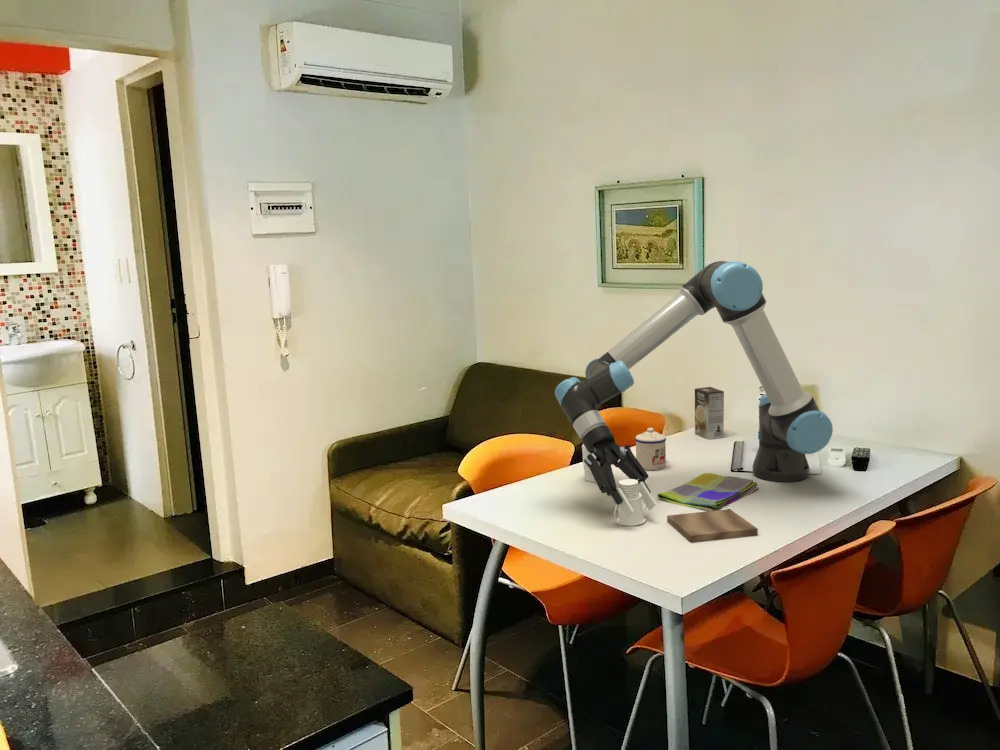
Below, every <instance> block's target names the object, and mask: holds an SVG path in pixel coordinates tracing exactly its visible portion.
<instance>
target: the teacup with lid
mask: <svg viewBox="0 0 1000 750" xmlns="http://www.w3.org/2000/svg"><path fill="white" fill-rule="evenodd" d="M634 440H635V458H636V459H637V460H638V462H639V463H640V464H641V466H642V467H643V468H644V470H645V471H659V470H663V469H664V468H666V465H667V464H666V462H667V461H666V460H667V458H666V455H667V454H666V452H667V451H666V448H667V447H666V446H667V445H666V441H667V437H666V435H664V434H662V433H659V432H657V431H655V430H654V428H653V427H648V428H647V429H646V431H644V432H642V433H639V434H637V435H636V436H635V438H634Z"/></svg>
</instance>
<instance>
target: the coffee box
mask: <svg viewBox="0 0 1000 750" xmlns="http://www.w3.org/2000/svg"><path fill="white" fill-rule="evenodd" d="M724 400H725V391H723V390H721V389H718V388H715V387H712V386H707V387H697V388H694V434H695V435H697V436H699V437H701V438H704V439H706V440H714V439H715V440H716V439H722V438H724V430H725V429H724V428H725V427H724V423H725V422H724V419H725V417H724V414H725V409H724V407H725V406H724V405H725V401H724Z"/></svg>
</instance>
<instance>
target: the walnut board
mask: <svg viewBox="0 0 1000 750" xmlns="http://www.w3.org/2000/svg"><path fill="white" fill-rule="evenodd" d="M666 522H667V523H668V524H669V525H670V526H672V527H673V529H675V530H676V531H677V532H678V533H679V534H681V535H682V536H683V537H684V538H685V539H686V540H687V541H689V543H697V542H704V541H705V542H706V541H714V540H715V541H716V540H725V539H732V538H733V539H734V538H741V537H742V538H743V537H750V536H758V535H759V534H758V533H759V530H758V528H757V527H756V526H755V525H753V524H752V523H750V522H749V521H748V520H746V519H745V518H744V517H741V516H740V515H739V514H738V513H736V512H735V511H733V510H732V509H731V508H729V509H728V508H727V509H726V508H725V509H717V510H714V511H698V512H688V513H682V514H681V513H680V514H669V515H666Z"/></svg>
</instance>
